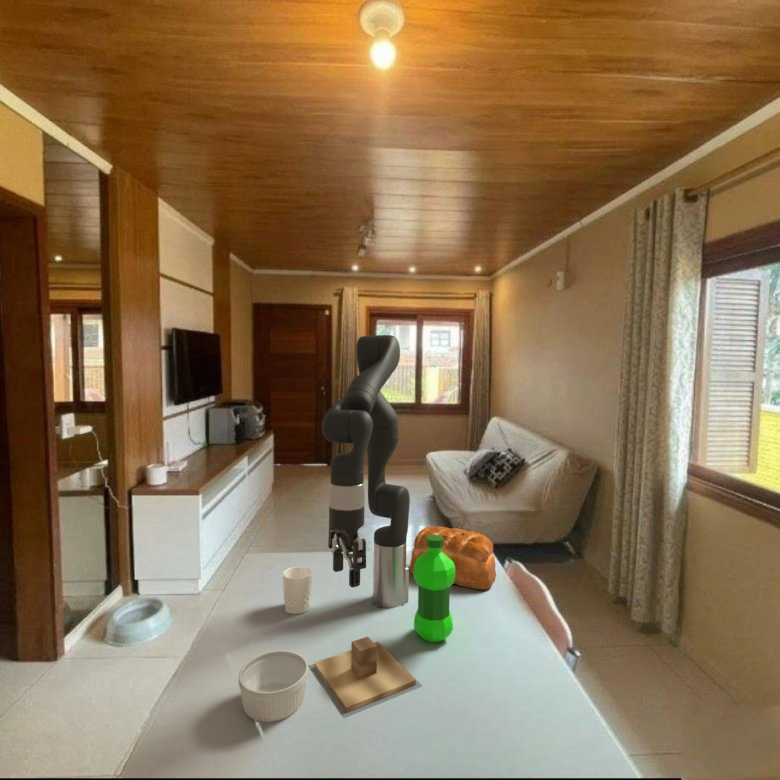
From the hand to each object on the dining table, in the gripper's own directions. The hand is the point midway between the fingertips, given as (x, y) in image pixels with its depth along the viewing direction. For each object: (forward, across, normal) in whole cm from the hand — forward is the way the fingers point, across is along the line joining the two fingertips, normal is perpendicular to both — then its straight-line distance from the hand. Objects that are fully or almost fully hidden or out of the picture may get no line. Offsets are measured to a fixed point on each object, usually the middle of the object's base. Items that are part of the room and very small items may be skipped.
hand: (345, 578), depth 102 cm
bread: (+21, +28, -50) cm, 61 cm away
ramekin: (+22, -2, +16) cm, 27 cm away
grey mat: (+21, -3, -3) cm, 22 cm away
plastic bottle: (+21, +2, -25) cm, 33 cm away
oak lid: (+21, -3, -3) cm, 21 cm away
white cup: (+21, +32, 0) cm, 38 cm away
